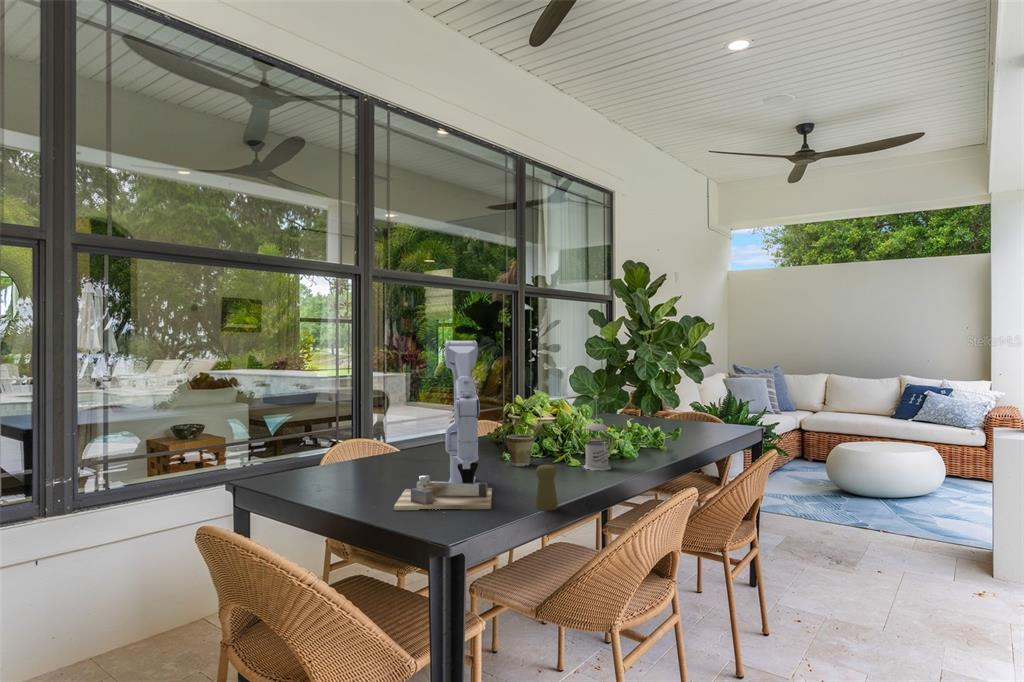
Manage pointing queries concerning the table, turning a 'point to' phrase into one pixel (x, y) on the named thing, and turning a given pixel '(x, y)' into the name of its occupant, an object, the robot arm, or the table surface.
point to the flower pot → (520, 449)
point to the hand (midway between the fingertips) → (468, 489)
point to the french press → (597, 447)
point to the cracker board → (445, 502)
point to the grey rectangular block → (422, 496)
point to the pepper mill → (546, 488)
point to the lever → (454, 487)
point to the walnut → (432, 490)
